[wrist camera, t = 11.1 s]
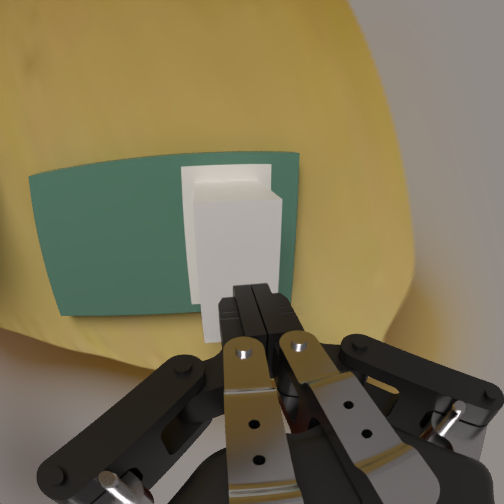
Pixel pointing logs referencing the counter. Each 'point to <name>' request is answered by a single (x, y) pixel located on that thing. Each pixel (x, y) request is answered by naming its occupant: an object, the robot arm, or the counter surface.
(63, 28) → the counter surface
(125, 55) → the counter surface
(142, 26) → the counter surface
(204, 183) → the block
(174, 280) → the board
